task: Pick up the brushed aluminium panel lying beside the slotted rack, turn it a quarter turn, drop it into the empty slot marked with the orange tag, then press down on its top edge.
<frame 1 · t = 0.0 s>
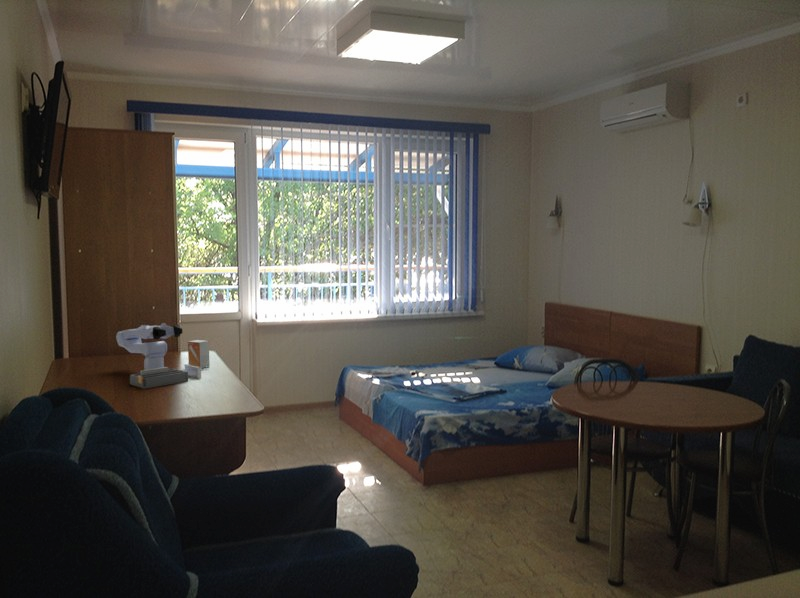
hand: (173, 331, 297), 22 cm above the table, tool horizontal, fingers open, 7 cm apart
small box: (199, 367, 332), on the table
rack: (159, 382, 294), on the table
panel: (193, 376, 308), on the table
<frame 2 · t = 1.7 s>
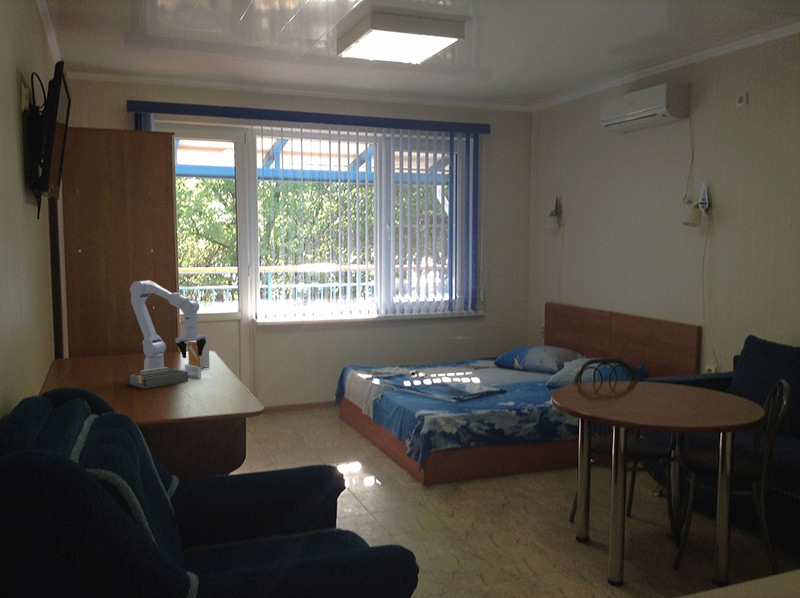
hand: (192, 356, 307), 9 cm above the table, tool pointing down, fingers open, 7 cm apart
nothing on the table moved.
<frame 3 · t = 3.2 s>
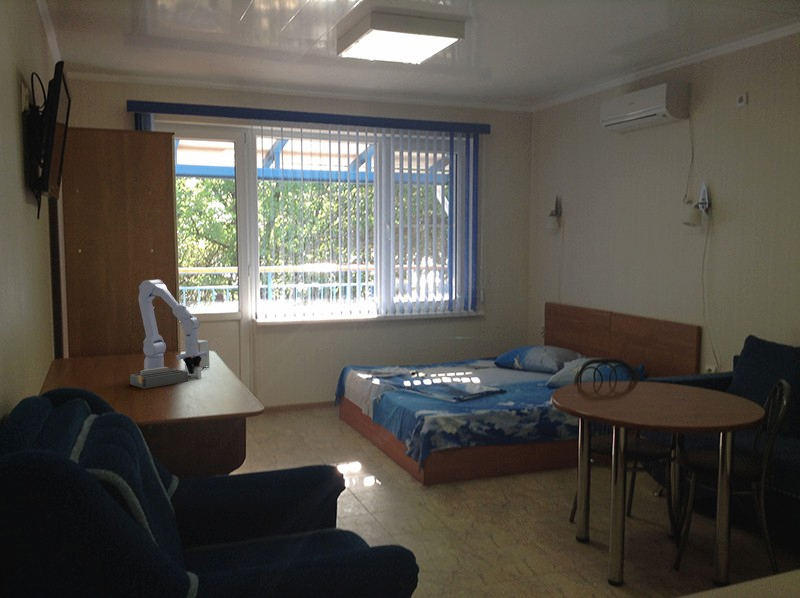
hand: (192, 373, 308), 1 cm above the table, tool pointing down, fingers closed on panel, 2 cm apart
panel: (193, 376, 308), on the table, touching gripper
everything else where it was.
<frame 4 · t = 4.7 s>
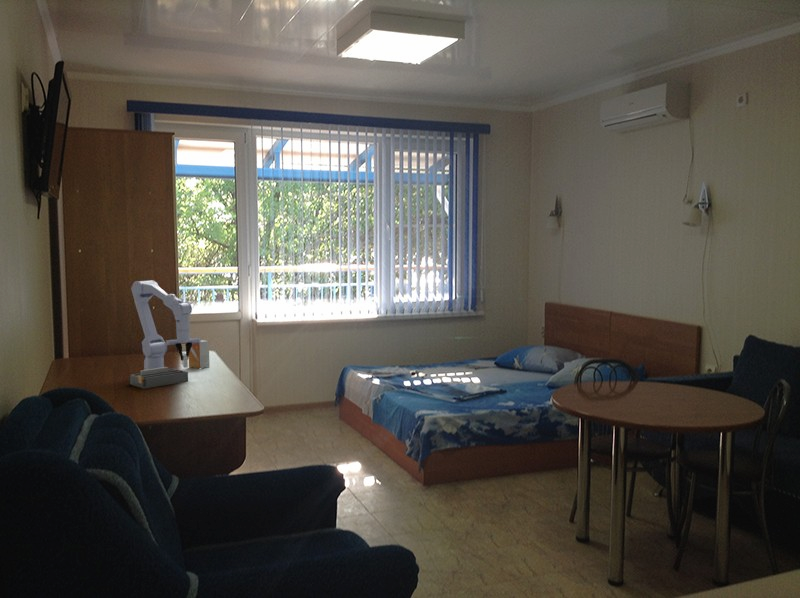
hand: (184, 359, 303), 8 cm above the table, tool pointing down, fingers closed on panel
panel: (184, 365, 303), point 6 cm above the table, touching gripper
everything else where it was.
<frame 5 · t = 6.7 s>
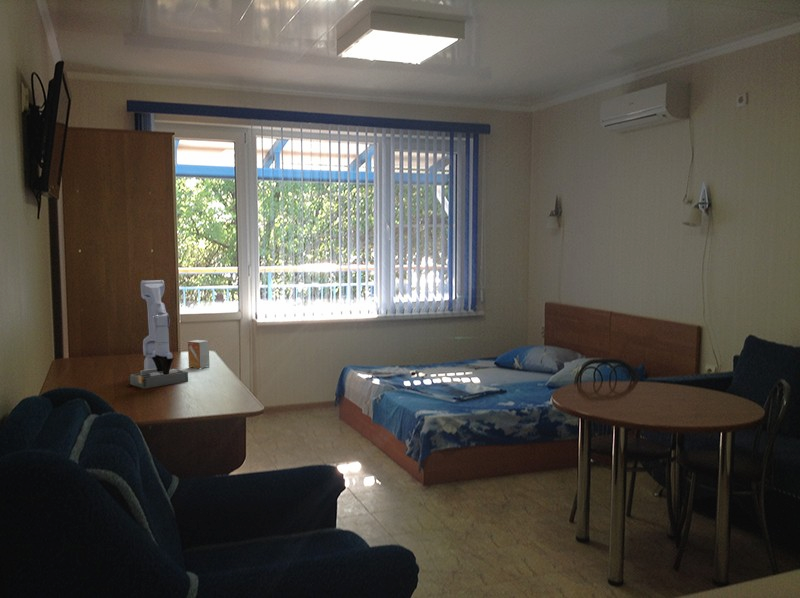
hand: (163, 373, 291), 5 cm above the table, tool pointing down, fingers open, 5 cm apart
panel: (163, 382, 291), point 1 cm above the table, touching rack
everything else where it was.
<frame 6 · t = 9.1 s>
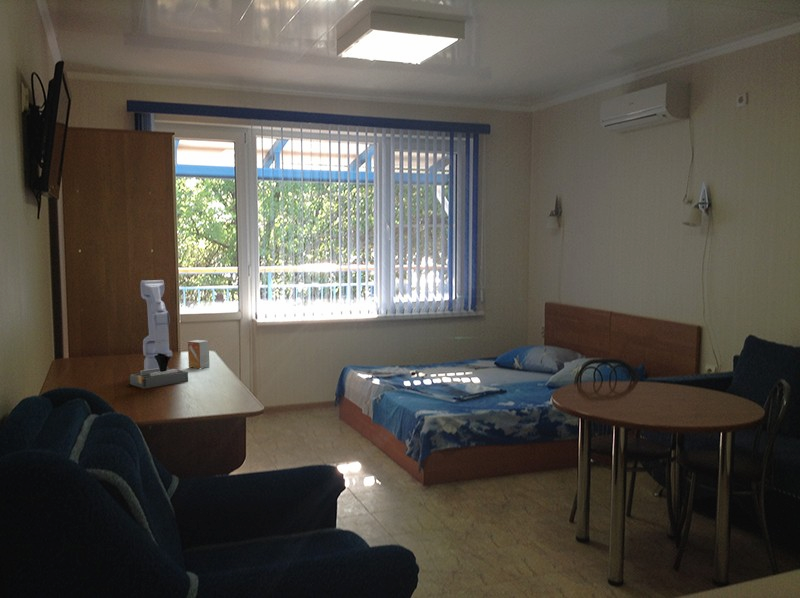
hand: (163, 371, 291), 6 cm above the table, tool pointing down, fingers closed, pressing on panel
panel: (163, 382, 291), point 1 cm above the table, touching gripper, rack
everything else where it was.
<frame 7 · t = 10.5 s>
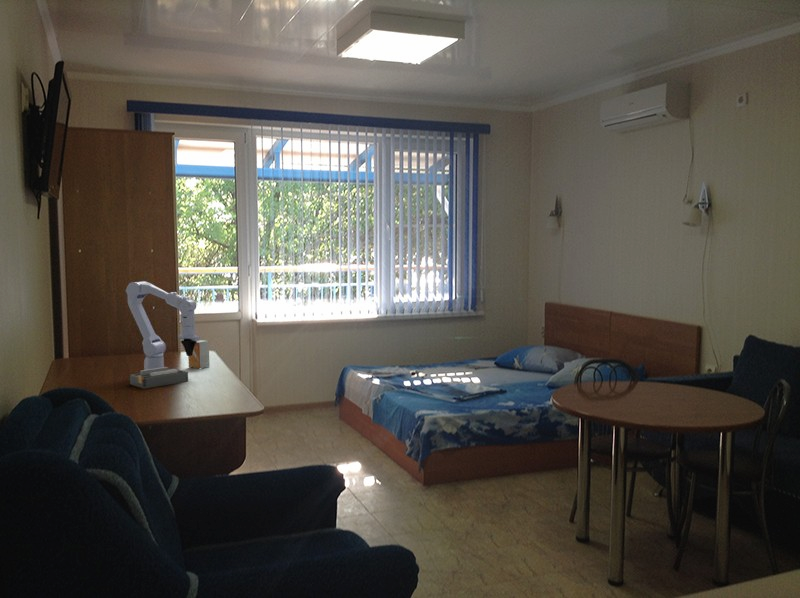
hand: (189, 355, 308), 9 cm above the table, tool pointing down, fingers closed
panel: (163, 382, 291), point 1 cm above the table, touching rack
everything else where it was.
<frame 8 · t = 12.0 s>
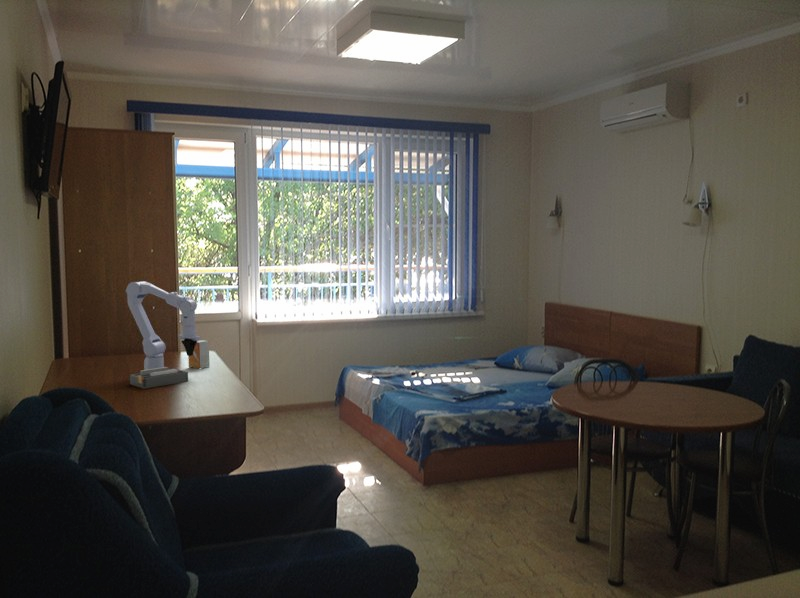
hand: (190, 355, 308), 9 cm above the table, tool pointing down, fingers closed
nothing on the table moved.
at the end: panel inside the target area on the rack (0.1 cm from its centre), point 0.6 cm above the rack's base; panel tilted 0°; the gripper is holding nothing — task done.
